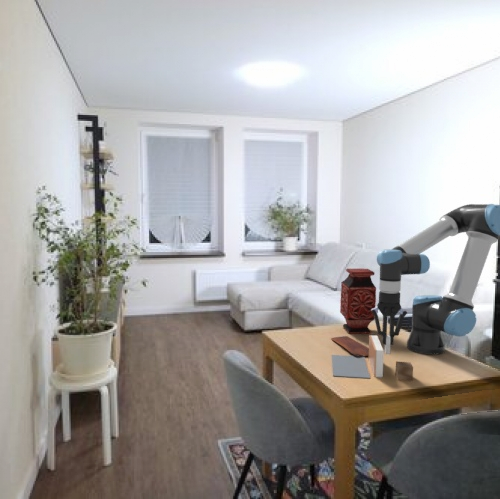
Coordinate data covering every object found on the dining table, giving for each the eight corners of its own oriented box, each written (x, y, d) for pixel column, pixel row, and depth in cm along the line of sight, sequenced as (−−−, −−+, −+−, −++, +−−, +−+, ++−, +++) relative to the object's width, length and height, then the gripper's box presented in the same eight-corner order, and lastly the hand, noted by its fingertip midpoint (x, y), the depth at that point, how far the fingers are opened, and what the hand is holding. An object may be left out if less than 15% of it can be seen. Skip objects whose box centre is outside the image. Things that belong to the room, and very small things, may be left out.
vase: (375, 334, 208) (377, 272, 205) (346, 334, 207) (348, 272, 204) (366, 326, 222) (367, 267, 218) (339, 326, 221) (340, 268, 218)
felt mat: (364, 357, 177) (364, 356, 177) (370, 378, 155) (370, 377, 155) (331, 355, 179) (331, 354, 179) (333, 376, 157) (333, 375, 157)
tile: (376, 359, 174) (377, 335, 173) (382, 377, 157) (383, 350, 156) (368, 359, 175) (369, 335, 174) (373, 377, 157) (374, 350, 156)
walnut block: (409, 375, 159) (410, 362, 158) (412, 381, 154) (413, 367, 153) (395, 374, 159) (395, 361, 159) (397, 380, 154) (398, 366, 154)
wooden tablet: (377, 356, 178) (377, 352, 177) (355, 357, 175) (355, 353, 175) (349, 337, 203) (349, 333, 203) (329, 338, 201) (329, 335, 201)
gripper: (405, 290, 165) (403, 350, 167) (370, 288, 167) (368, 348, 169) (410, 294, 157) (407, 357, 160) (372, 292, 159) (370, 355, 162)
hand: (387, 352), depth 164 cm, fingers closed
